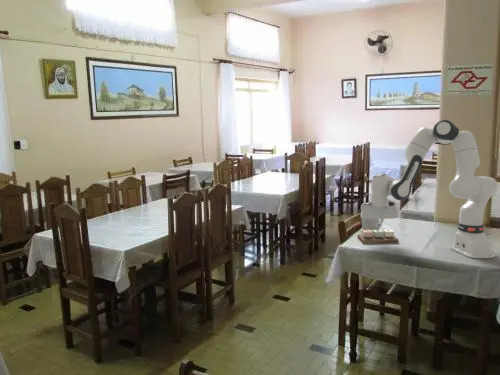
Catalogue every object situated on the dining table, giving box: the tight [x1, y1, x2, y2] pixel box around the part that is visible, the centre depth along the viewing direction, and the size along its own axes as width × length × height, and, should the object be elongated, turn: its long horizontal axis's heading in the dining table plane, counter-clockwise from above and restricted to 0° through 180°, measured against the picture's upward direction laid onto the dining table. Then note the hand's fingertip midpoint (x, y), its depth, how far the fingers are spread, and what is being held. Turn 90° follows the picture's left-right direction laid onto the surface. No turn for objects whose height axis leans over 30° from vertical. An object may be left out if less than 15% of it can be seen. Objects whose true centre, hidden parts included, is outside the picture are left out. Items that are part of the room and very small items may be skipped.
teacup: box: [361, 218, 381, 231], centre depth 269 cm, size 14×11×8 cm
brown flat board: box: [357, 233, 400, 245], centre depth 252 cm, size 12×20×2 cm, turn 91°
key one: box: [382, 228, 395, 238], centre depth 252 cm, size 5×5×5 cm
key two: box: [372, 229, 384, 238], centre depth 252 cm, size 5×5×5 cm
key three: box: [361, 229, 373, 238], centre depth 252 cm, size 5×5×5 cm
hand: (378, 226), depth 250 cm, fingers closed
